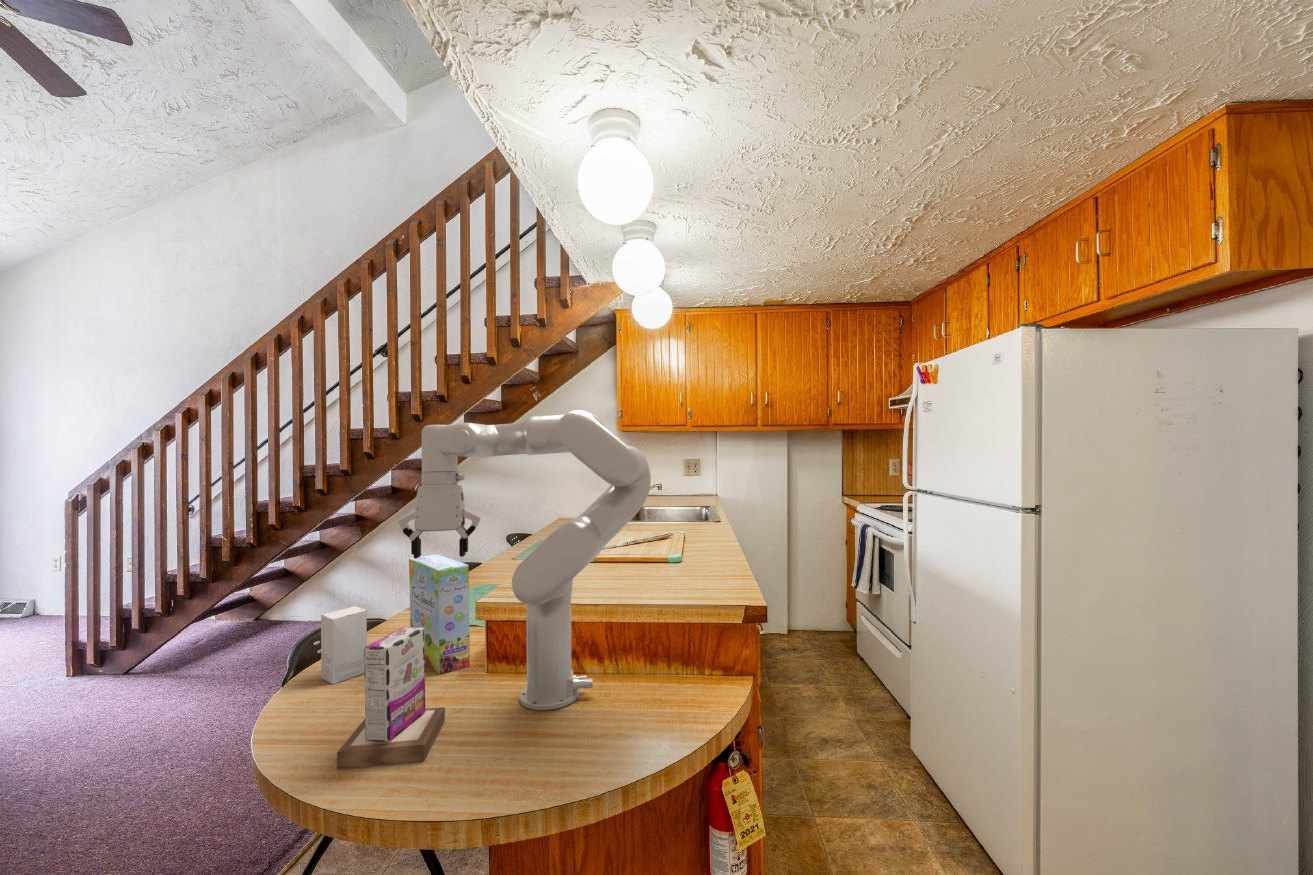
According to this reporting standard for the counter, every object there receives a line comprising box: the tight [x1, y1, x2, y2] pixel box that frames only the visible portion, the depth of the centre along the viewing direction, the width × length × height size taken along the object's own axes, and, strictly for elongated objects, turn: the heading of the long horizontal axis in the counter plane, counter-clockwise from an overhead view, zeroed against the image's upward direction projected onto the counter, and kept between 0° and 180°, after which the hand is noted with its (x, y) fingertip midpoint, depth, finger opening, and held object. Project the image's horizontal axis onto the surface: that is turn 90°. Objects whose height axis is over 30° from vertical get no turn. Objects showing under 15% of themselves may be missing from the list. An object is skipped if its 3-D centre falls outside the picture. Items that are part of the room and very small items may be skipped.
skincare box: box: [320, 605, 368, 685], centre depth 129 cm, size 8×7×16 cm
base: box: [336, 706, 446, 770], centre depth 98 cm, size 14×14×3 cm
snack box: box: [408, 553, 471, 675], centre depth 139 cm, size 22×9×26 cm, turn 43°
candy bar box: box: [364, 626, 426, 742], centre depth 98 cm, size 11×5×16 cm, turn 171°
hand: (440, 556), depth 119 cm, fingers open, 9 cm apart
